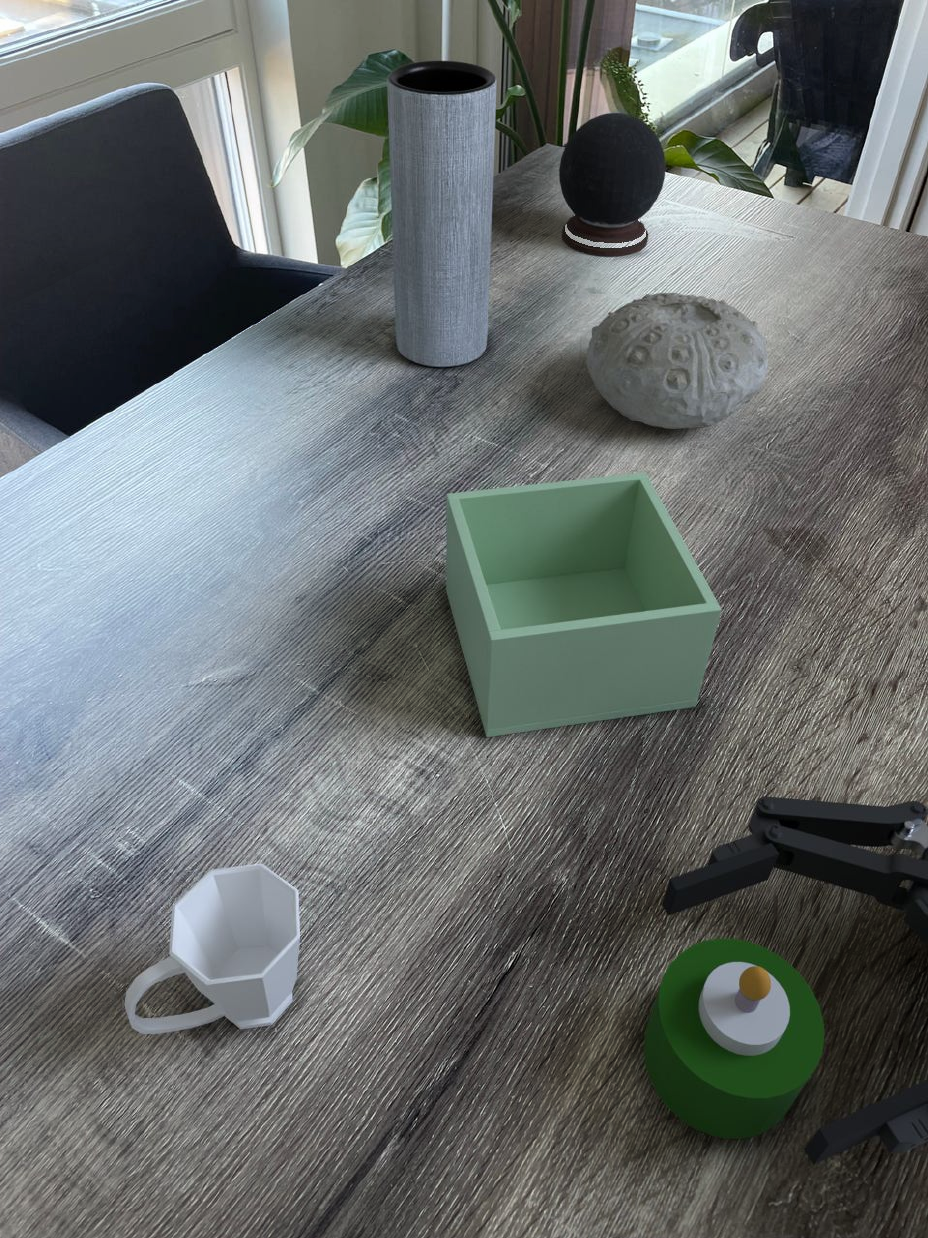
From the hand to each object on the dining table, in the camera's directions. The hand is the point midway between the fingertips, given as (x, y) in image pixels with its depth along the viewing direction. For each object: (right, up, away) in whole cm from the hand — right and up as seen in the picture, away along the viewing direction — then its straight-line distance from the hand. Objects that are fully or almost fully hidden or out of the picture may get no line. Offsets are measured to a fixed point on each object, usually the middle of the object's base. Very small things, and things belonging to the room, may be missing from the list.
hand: (734, 1011), depth 50 cm
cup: (-27, -2, +6) cm, 28 cm away
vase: (-16, +50, +60) cm, 79 cm away
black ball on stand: (+5, +69, +80) cm, 106 cm away
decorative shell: (+7, +42, +52) cm, 67 cm away
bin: (-6, +18, +27) cm, 33 cm away
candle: (0, -4, +4) cm, 6 cm away
